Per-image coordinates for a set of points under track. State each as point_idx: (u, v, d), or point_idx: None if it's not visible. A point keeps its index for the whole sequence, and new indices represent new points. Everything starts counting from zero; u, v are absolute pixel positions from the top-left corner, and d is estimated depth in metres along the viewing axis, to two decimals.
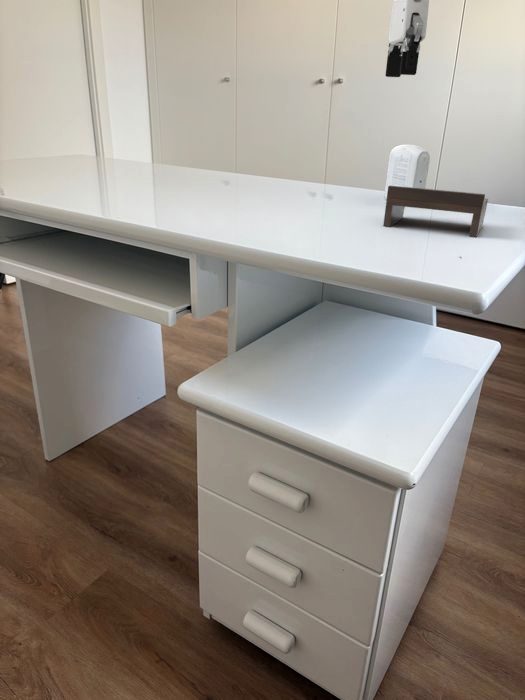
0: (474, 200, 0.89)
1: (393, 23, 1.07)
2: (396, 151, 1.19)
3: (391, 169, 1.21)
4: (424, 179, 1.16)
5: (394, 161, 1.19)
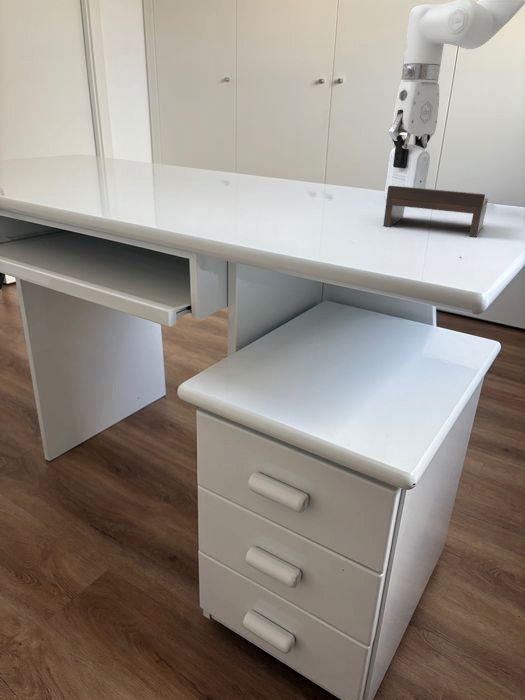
0: (474, 200, 0.89)
1: None
2: None
3: (391, 169, 1.21)
4: (424, 179, 1.16)
5: None
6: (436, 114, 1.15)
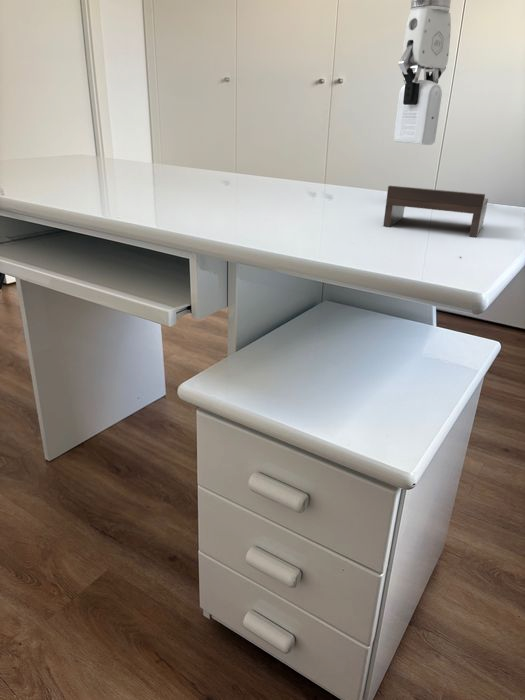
0: (474, 200, 0.89)
1: None
2: None
3: (401, 108, 1.15)
4: (436, 115, 1.11)
5: None
6: (448, 46, 1.09)
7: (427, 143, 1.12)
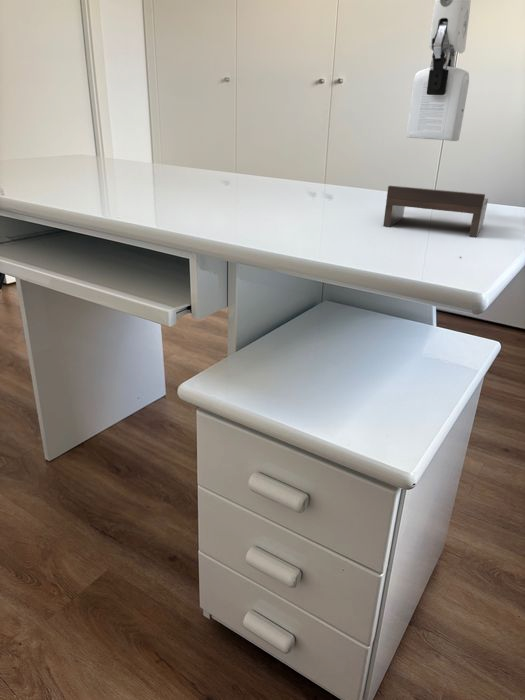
0: (474, 200, 0.89)
1: None
2: (425, 75, 0.97)
3: (418, 98, 0.99)
4: (464, 107, 0.98)
5: (422, 88, 0.98)
6: None
7: (456, 139, 0.99)
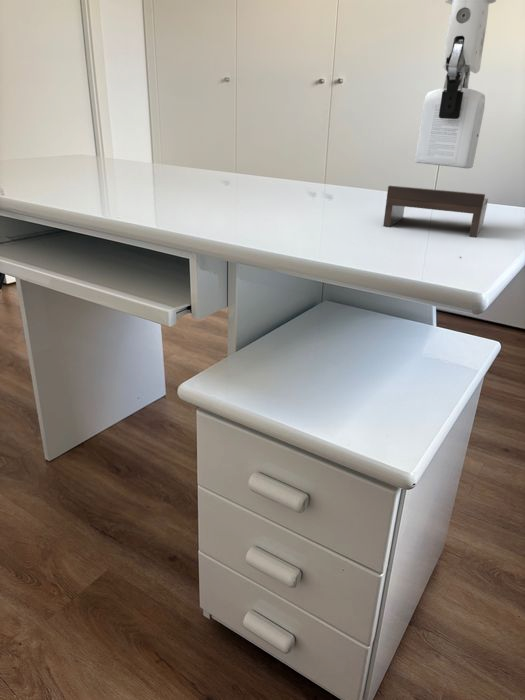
0: (474, 200, 0.89)
1: None
2: (436, 97, 0.89)
3: (429, 121, 0.91)
4: (479, 132, 0.89)
5: (434, 110, 0.90)
6: None
7: (470, 166, 0.91)
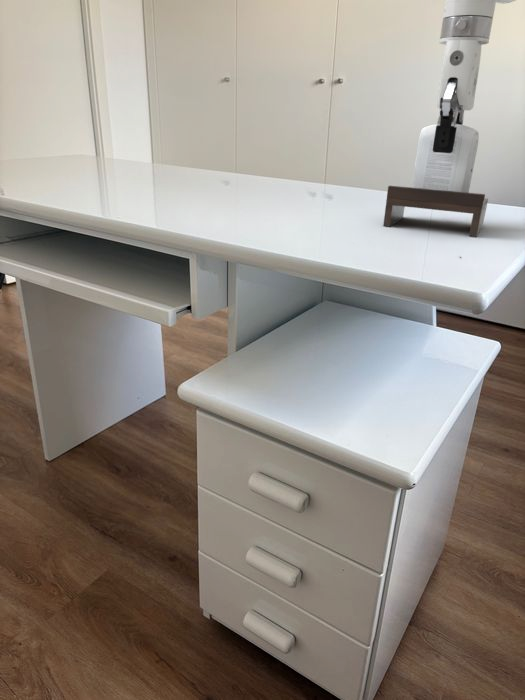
0: (474, 200, 0.89)
1: None
2: (431, 132, 0.91)
3: (424, 156, 0.93)
4: None
5: (429, 145, 0.92)
6: None
7: None
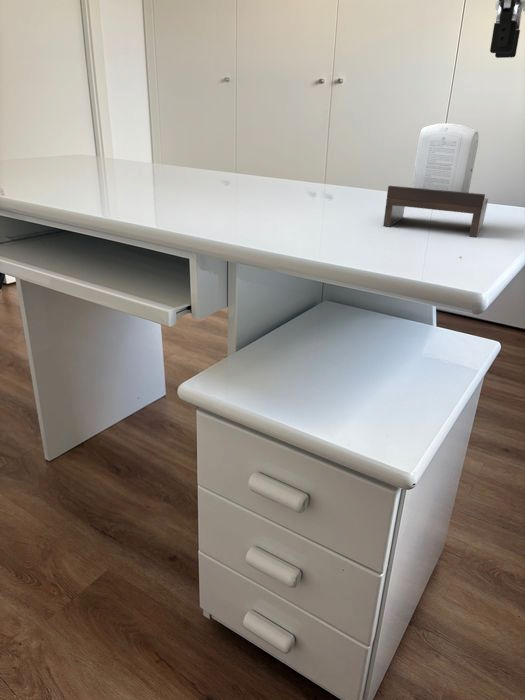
0: (474, 200, 0.89)
1: None
2: (431, 132, 0.91)
3: (424, 156, 0.93)
4: None
5: (429, 145, 0.92)
6: None
7: None
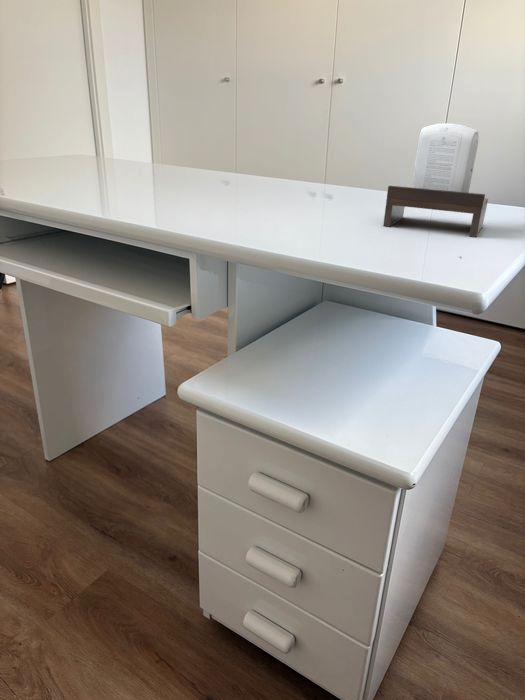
0: (474, 200, 0.89)
1: None
2: (431, 132, 0.91)
3: (424, 156, 0.93)
4: None
5: (429, 145, 0.92)
6: None
7: None
